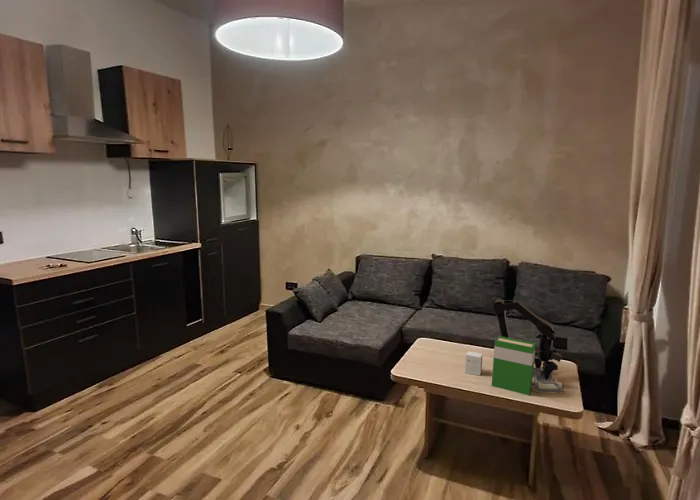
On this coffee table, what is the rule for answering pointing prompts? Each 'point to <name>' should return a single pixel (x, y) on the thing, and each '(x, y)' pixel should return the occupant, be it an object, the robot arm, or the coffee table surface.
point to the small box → (473, 363)
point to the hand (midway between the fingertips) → (542, 375)
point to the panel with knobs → (547, 386)
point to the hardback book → (513, 365)
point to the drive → (541, 374)
